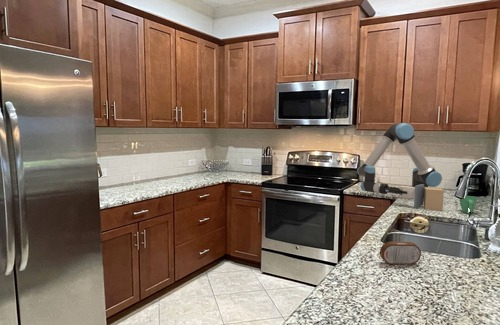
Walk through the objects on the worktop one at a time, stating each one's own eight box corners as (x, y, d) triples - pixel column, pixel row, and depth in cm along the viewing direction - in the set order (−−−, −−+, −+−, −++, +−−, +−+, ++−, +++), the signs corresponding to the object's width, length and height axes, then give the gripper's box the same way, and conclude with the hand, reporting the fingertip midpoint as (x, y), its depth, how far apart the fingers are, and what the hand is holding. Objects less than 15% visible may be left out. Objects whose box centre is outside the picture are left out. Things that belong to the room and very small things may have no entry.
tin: (417, 262, 128) (418, 241, 128) (421, 265, 125) (423, 243, 124) (378, 262, 128) (379, 240, 128) (382, 265, 125) (383, 243, 124)
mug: (457, 210, 218) (458, 195, 217) (474, 211, 214) (475, 196, 213) (461, 215, 205) (462, 199, 204) (480, 216, 201) (481, 200, 200)
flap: (423, 205, 228) (424, 184, 227) (415, 207, 220) (417, 186, 219) (405, 202, 237) (406, 182, 236) (397, 204, 229) (398, 183, 228)
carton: (440, 207, 225) (441, 188, 223) (442, 211, 215) (443, 190, 214) (423, 206, 228) (424, 187, 227) (425, 209, 219) (426, 189, 218)
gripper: (387, 192, 248) (419, 197, 230) (375, 194, 237) (407, 199, 219) (387, 182, 247) (419, 186, 229) (375, 184, 236) (408, 188, 218)
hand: (413, 192), depth 224 cm, fingers closed on flap, 4 cm apart
